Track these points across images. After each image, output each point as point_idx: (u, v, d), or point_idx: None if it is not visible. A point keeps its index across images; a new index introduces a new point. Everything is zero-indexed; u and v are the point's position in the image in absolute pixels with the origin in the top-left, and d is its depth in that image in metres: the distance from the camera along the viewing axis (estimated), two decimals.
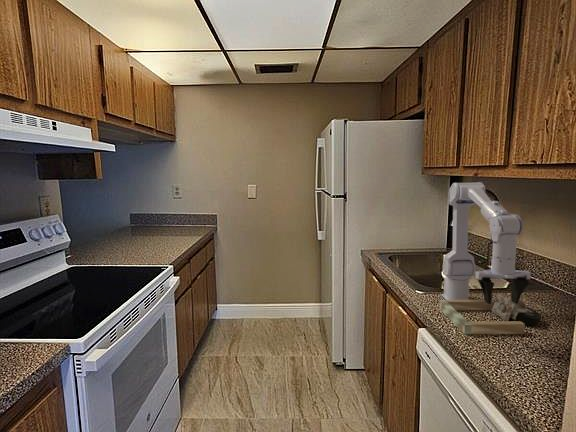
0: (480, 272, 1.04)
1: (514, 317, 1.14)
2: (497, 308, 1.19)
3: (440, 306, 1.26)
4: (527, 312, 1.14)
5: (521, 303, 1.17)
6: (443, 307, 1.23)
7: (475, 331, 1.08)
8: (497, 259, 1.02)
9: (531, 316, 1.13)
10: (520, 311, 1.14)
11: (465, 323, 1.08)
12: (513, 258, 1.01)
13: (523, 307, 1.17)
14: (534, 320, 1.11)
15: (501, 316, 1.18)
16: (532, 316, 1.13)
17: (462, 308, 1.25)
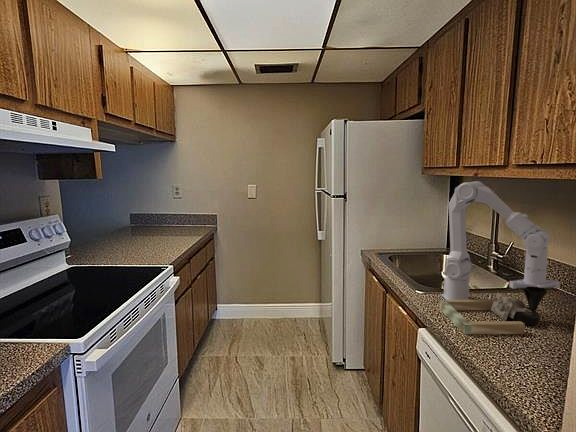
0: (514, 282, 1.15)
1: (512, 316, 1.14)
2: (496, 307, 1.20)
3: (440, 306, 1.26)
4: (525, 311, 1.14)
5: (520, 302, 1.17)
6: (443, 307, 1.23)
7: (475, 331, 1.08)
8: (530, 270, 1.13)
9: (529, 315, 1.13)
10: (518, 310, 1.14)
11: (465, 323, 1.08)
12: (545, 269, 1.12)
13: (522, 307, 1.17)
14: (531, 319, 1.12)
15: (499, 315, 1.18)
16: (530, 315, 1.13)
17: (462, 308, 1.25)
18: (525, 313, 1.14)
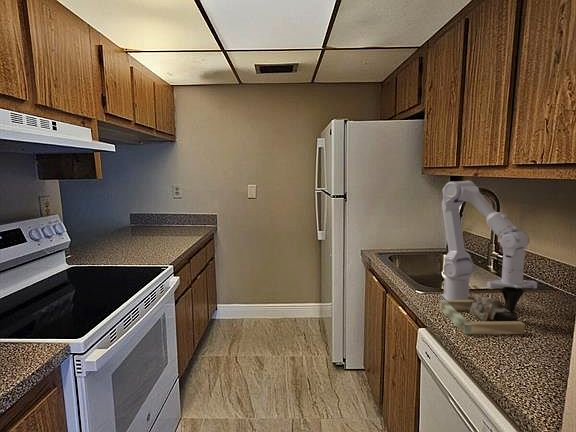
0: (491, 282, 1.16)
1: (492, 317, 1.14)
2: (475, 308, 1.19)
3: (440, 306, 1.26)
4: (504, 312, 1.15)
5: (498, 303, 1.17)
6: (443, 307, 1.23)
7: (475, 331, 1.08)
8: (507, 270, 1.14)
9: (508, 316, 1.13)
10: (497, 311, 1.14)
11: (465, 323, 1.08)
12: (521, 270, 1.12)
13: (500, 307, 1.17)
14: (511, 319, 1.12)
15: (479, 316, 1.17)
16: (509, 316, 1.13)
17: (462, 308, 1.25)
18: (504, 313, 1.14)
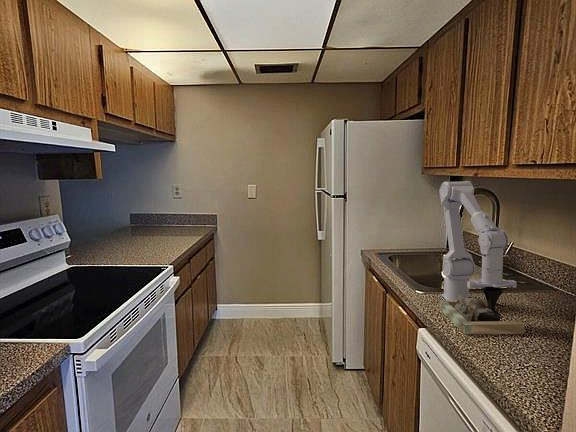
0: (471, 282, 1.16)
1: (476, 318, 1.13)
2: (459, 310, 1.18)
3: (440, 306, 1.26)
4: (487, 312, 1.14)
5: (481, 303, 1.17)
6: (443, 307, 1.23)
7: (475, 331, 1.08)
8: (486, 270, 1.14)
9: (492, 315, 1.13)
10: (481, 311, 1.14)
11: (465, 323, 1.08)
12: (500, 269, 1.12)
13: (483, 307, 1.17)
14: (494, 319, 1.11)
15: None
16: (493, 315, 1.13)
17: None
18: (488, 313, 1.13)
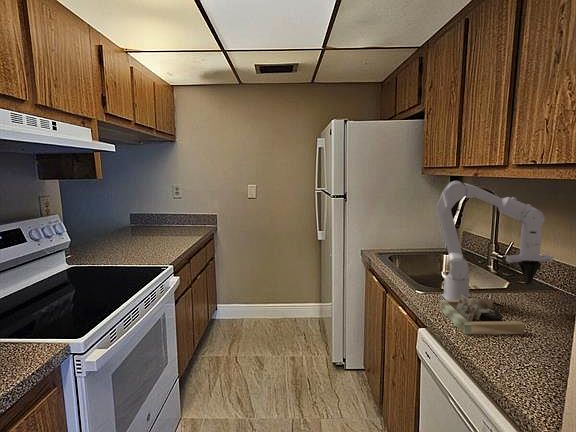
0: (510, 256, 1.23)
1: (477, 318, 1.14)
2: (461, 309, 1.19)
3: (440, 306, 1.26)
4: (489, 312, 1.15)
5: (483, 303, 1.18)
6: (443, 307, 1.23)
7: (475, 331, 1.08)
8: (525, 245, 1.21)
9: (493, 316, 1.13)
10: (483, 311, 1.14)
11: (465, 323, 1.08)
12: (539, 244, 1.20)
13: (485, 308, 1.17)
14: (496, 320, 1.12)
15: (465, 317, 1.17)
16: (494, 316, 1.13)
17: None
18: (489, 314, 1.14)
